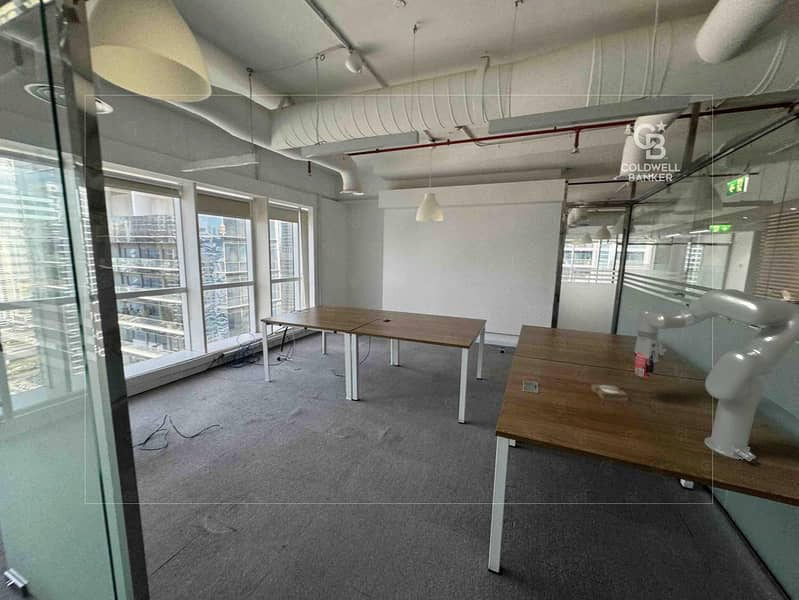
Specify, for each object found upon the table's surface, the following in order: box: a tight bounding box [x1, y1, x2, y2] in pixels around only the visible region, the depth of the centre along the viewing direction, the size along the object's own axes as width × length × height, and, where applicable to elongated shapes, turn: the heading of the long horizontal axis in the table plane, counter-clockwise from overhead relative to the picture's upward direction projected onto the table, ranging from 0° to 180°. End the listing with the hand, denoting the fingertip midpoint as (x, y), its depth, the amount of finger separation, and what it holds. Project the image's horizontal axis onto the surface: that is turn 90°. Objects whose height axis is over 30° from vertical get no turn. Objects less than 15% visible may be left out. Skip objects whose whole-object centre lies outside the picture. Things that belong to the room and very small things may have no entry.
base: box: [590, 383, 630, 402], centre depth 162 cm, size 12×12×3 cm
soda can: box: [634, 352, 653, 378], centre depth 151 cm, size 7×7×12 cm
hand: (643, 369), depth 151 cm, fingers closed on soda can, 7 cm apart
